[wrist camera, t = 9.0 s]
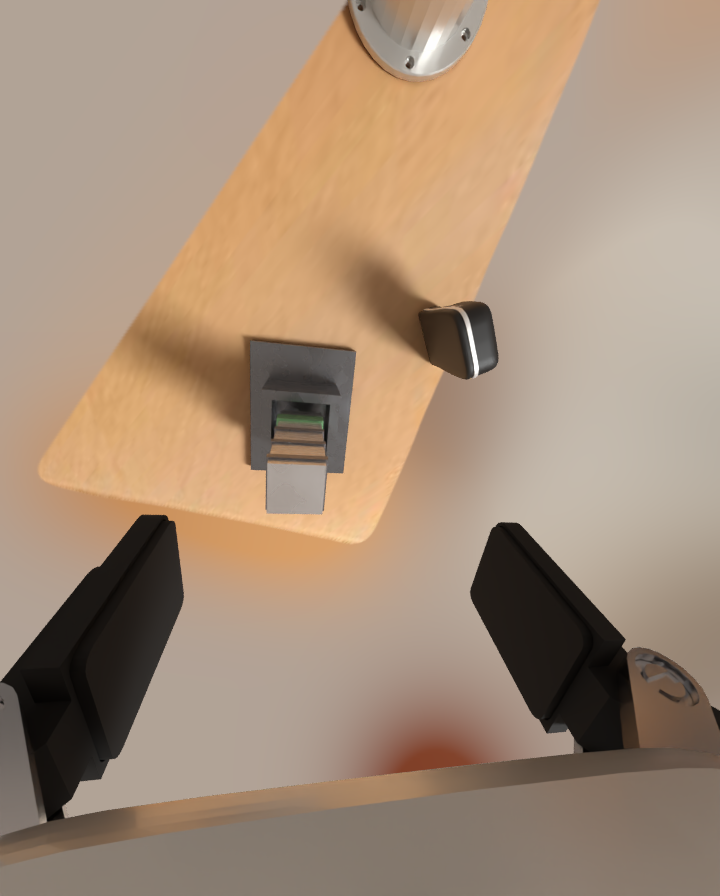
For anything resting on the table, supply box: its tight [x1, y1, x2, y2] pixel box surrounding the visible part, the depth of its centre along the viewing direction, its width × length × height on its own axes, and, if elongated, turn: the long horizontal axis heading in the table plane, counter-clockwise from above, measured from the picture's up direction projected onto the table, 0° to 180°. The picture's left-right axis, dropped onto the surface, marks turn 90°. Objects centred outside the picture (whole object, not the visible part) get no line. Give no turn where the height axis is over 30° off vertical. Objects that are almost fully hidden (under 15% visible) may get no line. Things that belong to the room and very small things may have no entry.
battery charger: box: [419, 301, 498, 379], centre depth 35 cm, size 7×4×11 cm, turn 19°
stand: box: [250, 340, 356, 473], centre depth 38 cm, size 16×12×9 cm
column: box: [266, 410, 328, 514], centre depth 29 cm, size 4×4×13 cm
